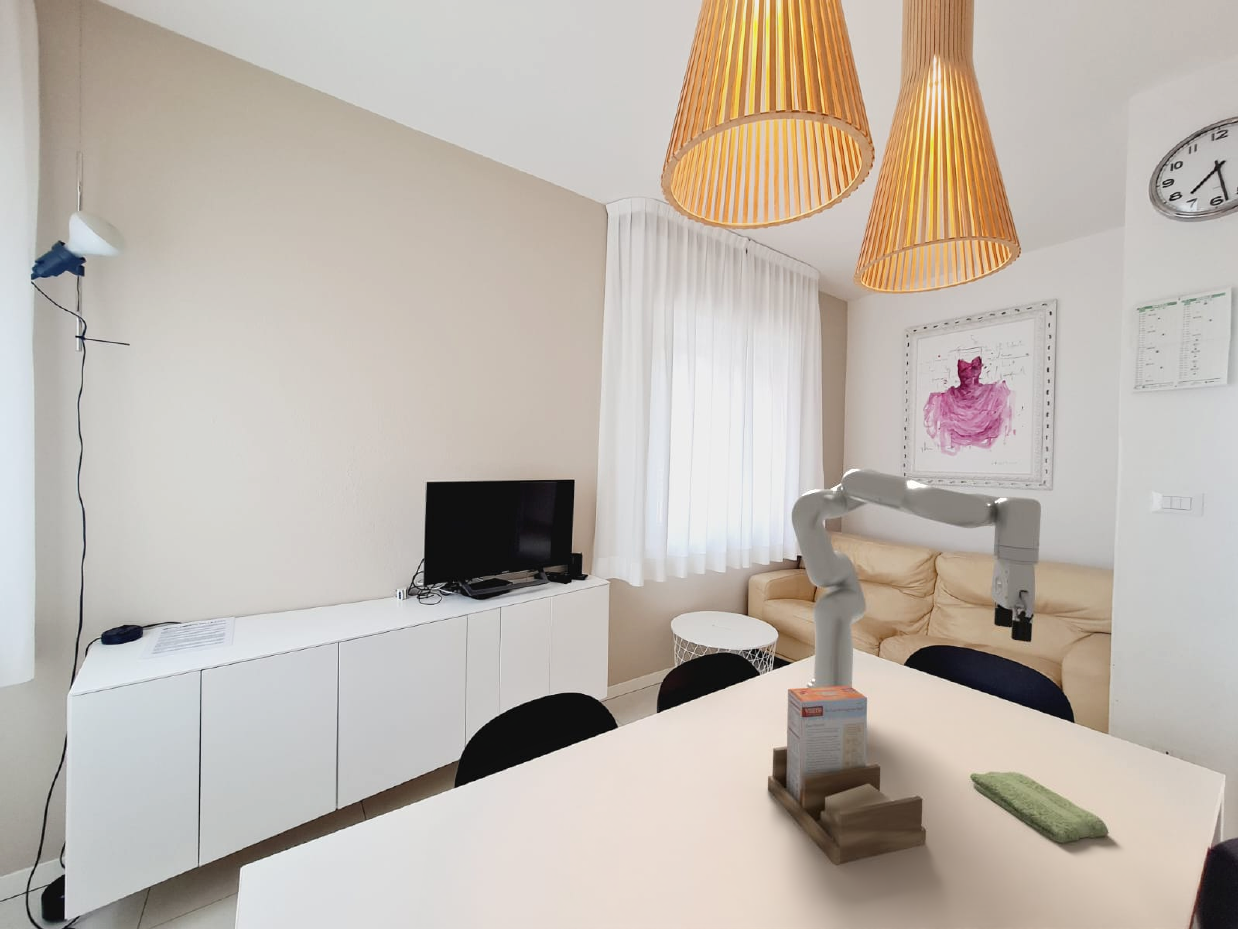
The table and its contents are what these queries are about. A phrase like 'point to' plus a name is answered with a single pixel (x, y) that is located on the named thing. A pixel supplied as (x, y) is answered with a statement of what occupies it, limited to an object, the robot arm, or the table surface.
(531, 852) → the table surface
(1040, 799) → the washcloth
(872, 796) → the wooden block
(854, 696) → the cracker box
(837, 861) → the rack
